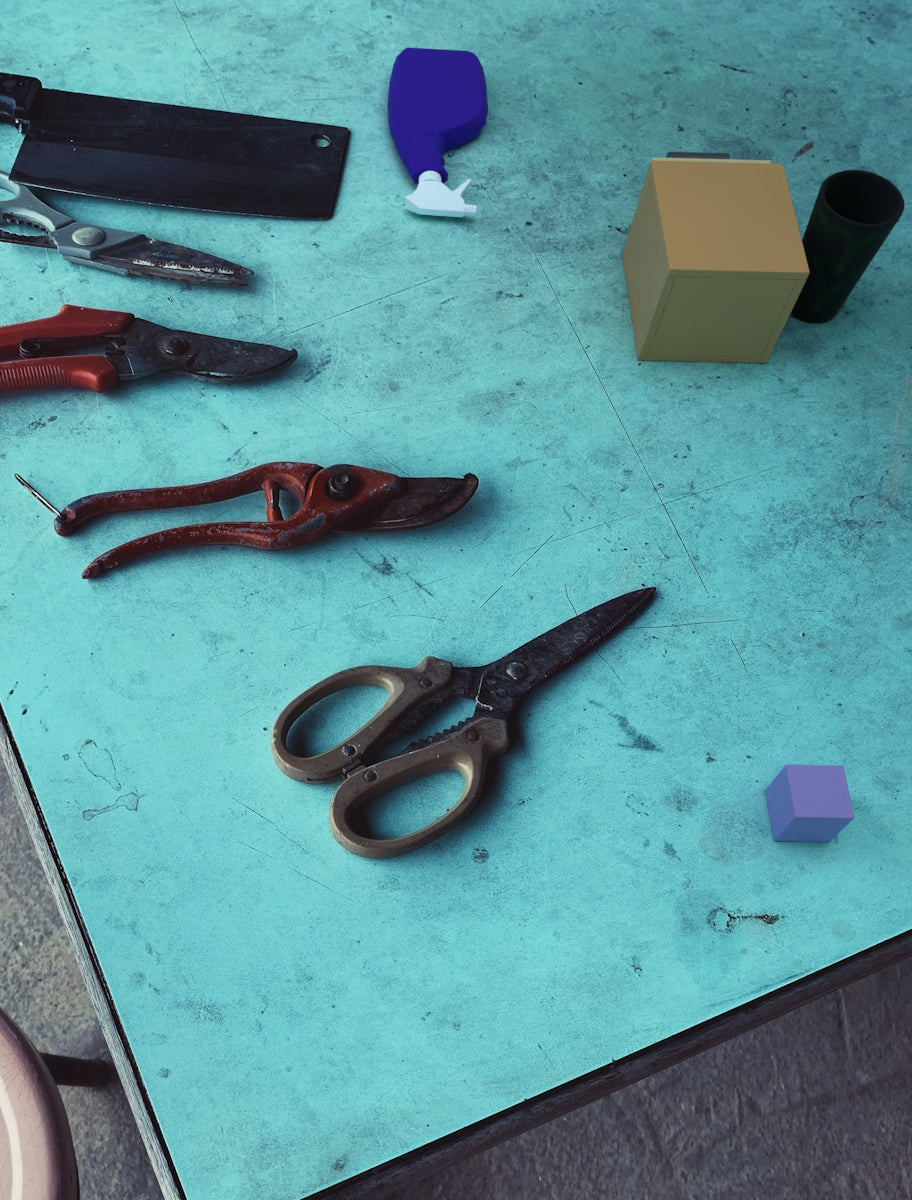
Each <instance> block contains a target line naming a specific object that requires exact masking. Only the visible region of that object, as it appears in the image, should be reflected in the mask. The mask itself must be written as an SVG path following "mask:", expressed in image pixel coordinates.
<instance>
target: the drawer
mask: <svg viewBox="0 0 912 1200" xmlns="http://www.w3.org/2000/svg"><path fill="white" fill-rule="evenodd" d="M665 156H666V157H658V156H656V157H651V160H657V161H694V162H732V163H769V164H772V161H771V160H770V159H769V160H768V159H767V160H766V159H735V158H734V159H731V155H730V153H729V152H702V151H701V152H695V151H668V152H667V153H666V155H665Z"/></svg>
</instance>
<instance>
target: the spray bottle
mask: <svg viewBox="0 0 912 1200" xmlns="http://www.w3.org/2000/svg"><path fill="white" fill-rule="evenodd" d="M388 83H389V84H388V93H387V122H388V127H389V133H390V136H391V138H392V141H393V144H394V146H395V149H396V151H397V155H398V156H399V158H400V160H401V162H402V164H403V166H404V168H405V169H406V172H407V173H408V175H409V176H410V178H411V180H412V181H413V183H414V184H417V187H416V189H415V190H414V191H413V192H412V193H410V194H407V195H406V196H405V197H404V206H403V208H404V209H405V210H407V211H410V212H413V213H415V214H417V215H424V216H438V217H451V218H452V217H453V218H464V217H476V215H477V207H478V206H477V205H474V204H467V203H465V199H464V198H463V196H464V193H465V192H466V190H467V188H468V187H469V186H470V184H471V183H472V179H470V178H468V179H466V180H465V181H463V182H462V183H461V184H460V185H458V187H456V188H455V189H454V190H451V189H450V188H449V187H448V186H447V185H446V184H445V183H446V182H447V181H448V180H449V172H448V171H447V169H446V168H445V165H446V160H445V158H444V156H445V152H447V151H450V150H453V149H455V148H458V147H460V146H462V145H465V144H467V143H470V142H471V141H472V140H473V139H475V138H476V137H477V136H479V134H480V133H481V131H482V130H483V128H485V126H486V123H487V119H488V112H489V101H488V87H487V80H486V75H485V70H484V67H483V65H482V63H481V61H480V59H479V57H478V56H477V55H476V53H475V52H471V51H469V50H461V49H443V48H425V47H423V48H422V47H405V48H404V49H402V50H401V52H400V53H398V54H397V56H396V58H395V59H394V62H393V65H392V70H391V74H390V79H389V82H388Z"/></svg>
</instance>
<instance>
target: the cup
mask: <svg viewBox="0 0 912 1200" xmlns="http://www.w3.org/2000/svg"><path fill="white" fill-rule="evenodd" d="M904 211H905V200H904V197H903V194H902V193H901V191H900V190H899V188H898V187H897V186H896V185H895V184H894V183H893V182H892V181H890V180H889V179H887V178H885V177H883V176H882V175H879V174H877V173H874V172H871V171H867V170H862V169H845V170H841V171H837V172H834V173H832V174H830V175H829V176H827V177H826V178H825V179H824V180H823V181H822V183H821V185H820V187H819V190H818V193H817V196H816V199H815V202H814V204H813V208H812V210H811V214H810V216H809V219H808V222H807V225H806V228H805V231H804V234H803V237H802V238H801V239H802V243H803V247H804V251H805V255H806V259H807V263H808V268H809V272H810V273H809V275H808V277H807V279H806V282H805V284H804V286H803V288H802V290H801V292H800V294H799V296H798V298H797V301H796V303H795V305H794V307H793V309H792V311H791V313H790V316H791V317H793V318H795V319H796V320H799V321H801V322H803V323H807V324H815V325H817V324H824V323H827V322H829V321H832V320H833V319H834V318H835V317H836V316H837V314H838V313H839V312H840V310H841V308H842V307H843V305H844V304H845V302H846V301H847V299H848V297H849V296H850V295H851V293H852V291H853V290H854V289H855V288H856V286H857V284H858V282H859V281H860V279H861V278H862V277H863V275H864V273H865V272H866V271H867V269H868V267H869V266H870V264H871V263H872V261H873V260H874V258H875V256H876V255H877V254H878V252H879V251H880V249H881V247H882V246H883V244H884V243H885V241H886V240H887V238H888V237H889V236H890V234H891V232H892V231H893V229H894V228H895V226H896V225H897V223H898V221H899V220H900V219H901V217H902V216H903V213H904Z"/></svg>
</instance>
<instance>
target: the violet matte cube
mask: <svg viewBox="0 0 912 1200" xmlns="http://www.w3.org/2000/svg"><path fill="white" fill-rule="evenodd" d="M764 793H765V799H766V804H767V811H768V815H769V822H770V826H771V832H772V833H771V834H772V839H773V841H774V842H801V843H802V842H804V843H806V842H810V843H811V842H812V843H813V842H814V843H830V842H832V841H833V840H834V839H835V838H836V837H837V836H838V835H839V834H840V833H841V832H842V831H843V830H844V829H845V828H846V827H848V825H849V824H850V823H851V822H852V821H854V819H855V815H854V814H855V813H854V810H853V805H852V799H851V795H850V789H849V785H848V781H847V775H846V772H845V767H844V765H837V764H836V765H834V764H832V765H830V764H828V765H827V764H785V765H784V766H783V767H782V769H781V770H780V771H779V772H778V774H777V775H776V776H775V777H774V779H773V780H772V781H771V782H770V783H769V785H768V786H767V787H766V788H765V789H764Z"/></svg>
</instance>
